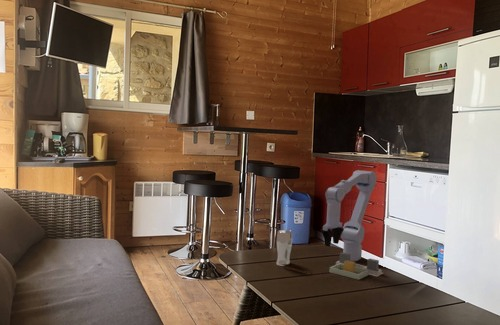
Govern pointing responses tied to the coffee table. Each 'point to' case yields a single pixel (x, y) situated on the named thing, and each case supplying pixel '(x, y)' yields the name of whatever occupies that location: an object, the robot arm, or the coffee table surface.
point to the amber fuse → (349, 266)
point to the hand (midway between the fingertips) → (331, 244)
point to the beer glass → (284, 246)
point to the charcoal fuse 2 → (372, 264)
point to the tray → (336, 270)
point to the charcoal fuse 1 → (344, 257)
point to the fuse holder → (371, 272)
